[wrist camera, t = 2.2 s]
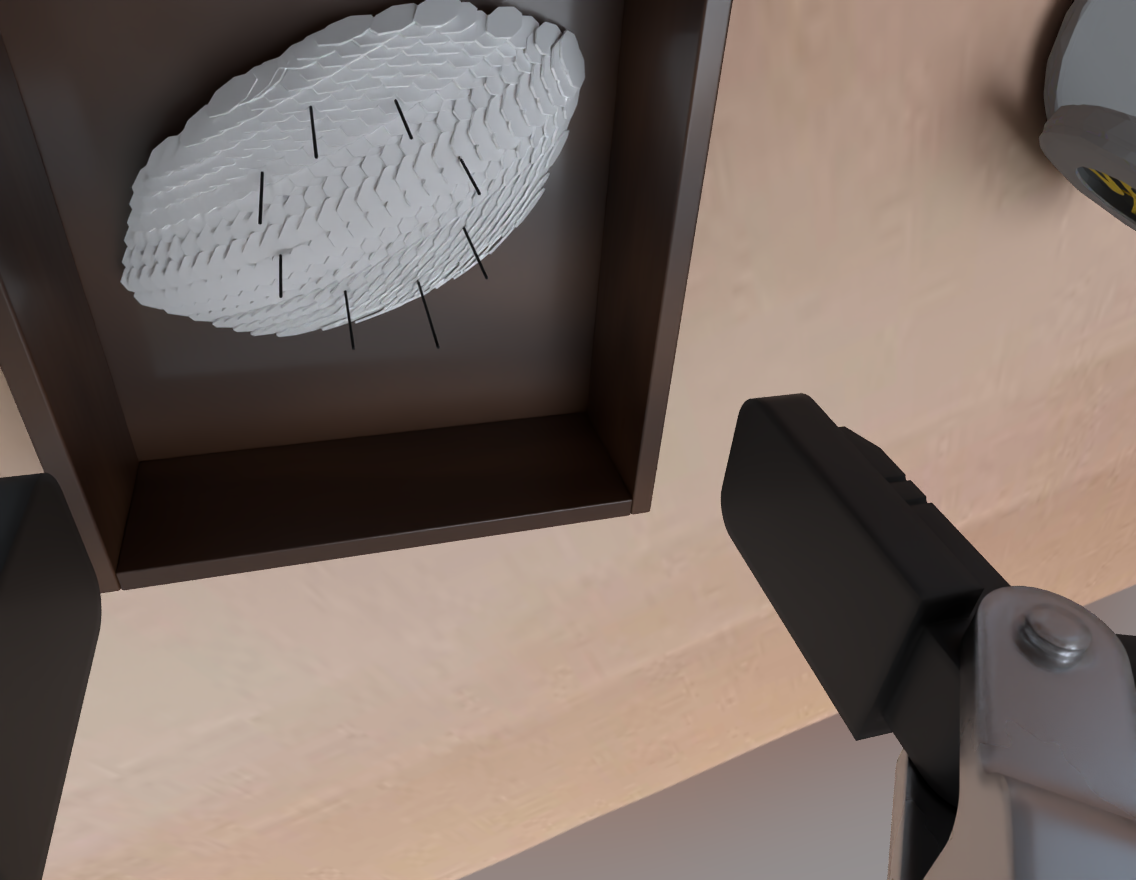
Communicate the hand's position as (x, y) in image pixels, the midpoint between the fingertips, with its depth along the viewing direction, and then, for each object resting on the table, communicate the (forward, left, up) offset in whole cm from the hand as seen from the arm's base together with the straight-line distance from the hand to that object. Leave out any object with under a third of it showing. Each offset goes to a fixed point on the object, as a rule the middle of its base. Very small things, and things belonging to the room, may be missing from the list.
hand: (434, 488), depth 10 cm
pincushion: (0, 0, -13) cm, 13 cm away
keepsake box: (0, 0, -13) cm, 13 cm away
